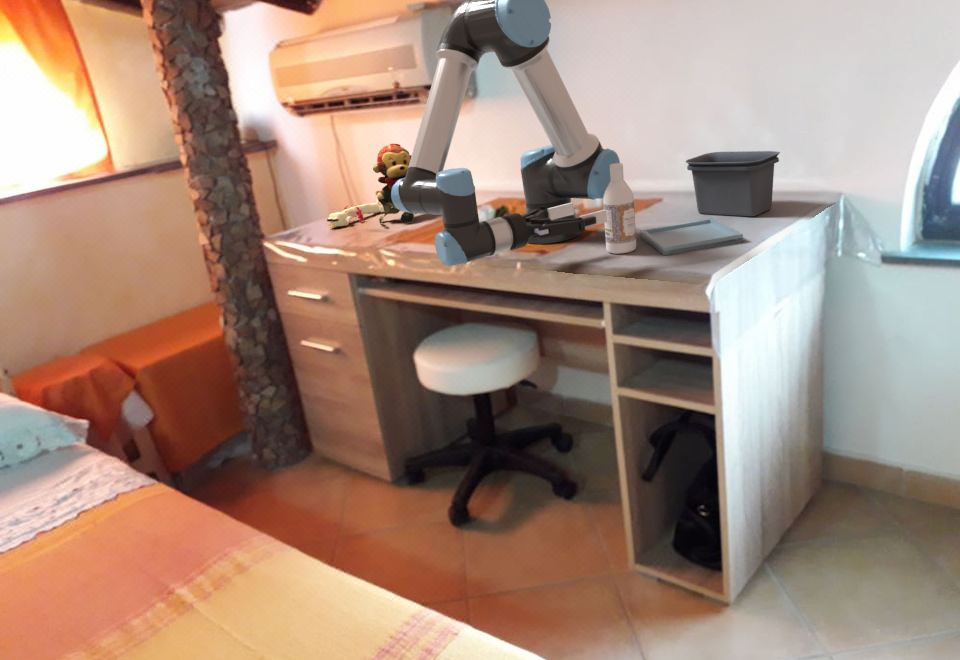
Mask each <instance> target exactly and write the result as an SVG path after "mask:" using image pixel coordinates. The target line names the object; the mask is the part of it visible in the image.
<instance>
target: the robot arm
mask: <svg viewBox="0 0 960 660" xmlns="http://www.w3.org/2000/svg"><path fill="white" fill-rule="evenodd" d="M548 6H549V5H548V4H547V2H546V0H464V1H463V2H462V3H461V4H460V5H458V7H457V8H456V9H455V10H454V12H453V13H452V15H451V16H450V18H449V19H448V21H447V23H446V25H445V27H444V29H443V31H442V33H441V36H440V38H439V41H438V45H437V47H436V52H435V58H436V60H437V65H436V68H435V71H434V74H433V75H434V76H433V79H432V82H431V87H430V90H429V93H428V98H427V100H426V105H425V107H424V110H423V114H422V118H421V122H420V124H419V125H420V126H419V129H418V132H417V136H416V139H415V143H414V146H413V149H412V153H411V155H412V156H411V160H410V163H409V167H408V171H407V174H406V177H405V178H402V179H399V180H398V181H397V182H396V183H395V184H394V185H393V187H392V191H391V198H392V202H393V204H394V205H395V207H396V208H397V209H399V210H400V211H399V212H403V213H404V212H408V213H412V214H414V215H415V214H416V215H417V214H420V215H423V214H424V215H426V214H427V215H436V216H441V217H442V224H443V230H441V231H440V232H437V234H436V235H435V237H434V242H435V243H434V247H435V251H436V255H437V256H438V259H439V260H440V262H441V263H442V264H443V265H444V266H446V267H453V266H457V265H462V264H464V265H465V264H467V263H471V262H474V261H476V260H481V259H484V258H487V257H491V256H494V257H499V254H502V253H505V252H509V251H513V250H518V249H522V248H524V247H526V246H527V245H528V244H537V245H538V244H540V245H541V244H542V245H543V244H555V243H559V242H564V241H569V240H571V239H574V238H576V237H578V236H580V235H581V234H584V233H585V232H586V229H587V228H590V227H594V226H598V225H601V224H604V223H606V222H607V214H606V210H604V209H601V210H597V211H592V212H590V213H586V214H581V215H579V216H578V217H577V214H576V212H575V209H574V203H573V202H572V199H582V200H583V199H585V200H593V201H594V200H596V199H598V200H601V199H602V200H603V197H604V193H605V191H606V188H607V187H608V185H609V183H610V181H611V178H610V165H611V164H614V163H621V161H620V158H619V155H618V153H617V152H616V151H615V150H613V149H610V148H603V146H602V144H601V141H600V140H599V138H598V137H597V135H595V134H593V133H588V131H587V128H586V126H585V124H584V123H583V120H582V118H581V116H580V114H579V111H578V110H577V107H576V106H575V104H574V102H573V100H572V97H571V95H570V93H569V91H568V90H567V87H566V85H565V83H564V81H563V79H562V77H561V76H560V73H559V71H558V68H557V67H556V65H555V63H554V61H553V58H552V56H551V54H550V52H549V51H548V46H549V44H550V40H551V39H550V36H549V35H550V33H551V28H552V23H551V22H550V20H551V19H552V17H551V13H550V9H549V7H548ZM487 53H495V56H496V58H497V59H498V61H499V63H500V65H501V66H502V68H505V69H510V70H511V71H512V72H513V75H514V76H515V78H516V80H517V81H518V83H519V85H520V87H521V89H522V91H523V93H524V95H525V96H526V98H527V101H528V102H529V105H530V106H531V108H532V110H533V111H534V114H535V116H536V118H537V119H538V121H539V123H540V124H541V126H542V129H543V130H544V133H545V134H546V136H547V138H548V140H549V142H550V143H551V145H546V146H541V147H537V148H533V149H531V150H528V151H525V152H523V153H522V154H521V156H520V159H519V160H520V174H521V179H522V186H523V187H522V188H523V194H524V202H525V209H526V212H525V213H524V214H522V215H521V214H520V213H516V212H515V213H512V214H506V215H503V216H502V217H500V216H498V217H494V218H489V219H487V220H483V221H480V217H479V210H478V205H477V204H478V203H477V195H476V186H475V185H474V180H473V174H472V171H471V170H470V169H468V168H465V167H457V168H449V169H448V168H447V169H445V166H446V162H447V158H448V155H449V151H450V148H451V144H452V140H453V137H454V133H455V131H456V126H457V123H458V121H459V116H460V112H461V109H462V105H463V102H464V100H465V95H466V92H467V88H468V85H469V82H470V78H471V74H472V72H474V71H476V70H477V69H478V66H479V63H480V61H481V58H482V57H483V56H484V55H485V54H487Z"/></svg>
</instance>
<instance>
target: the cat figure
mask: <svg viewBox="0 0 960 660" xmlns="http://www.w3.org/2000/svg"><path fill="white" fill-rule="evenodd" d="M380 191H381V190H376V191H375V196H377V195H378V193H379V192H380ZM348 207H349V205H346V206H344V209H343V210H342V211H339V212H338V211H337V212H333V213H330V214H329V215H328V218H327V219H326V222H329V223H328V224H327V226H328V227H330V229H334V228H338V227H344V226H348V225H349V223H350V222H351V220H353V218H358V219H359V221H358V222H359V223H361V222H362V221H363V219H364V215H365V214H366V215H371V214H378V213H382V212H384V208H383V205H382V204H381V203H380V202H379V201H378V199H376V200H375V202H374V203H364V204H360V205H354V206H351V207H350V208H348Z"/></svg>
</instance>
